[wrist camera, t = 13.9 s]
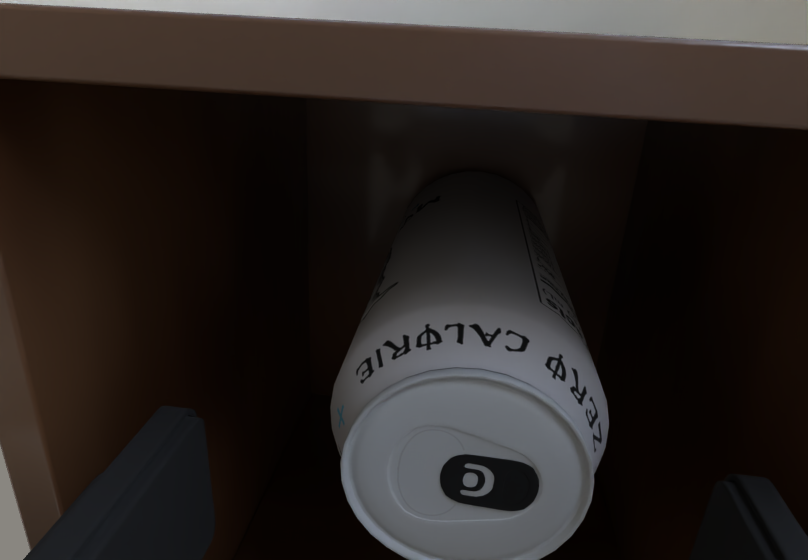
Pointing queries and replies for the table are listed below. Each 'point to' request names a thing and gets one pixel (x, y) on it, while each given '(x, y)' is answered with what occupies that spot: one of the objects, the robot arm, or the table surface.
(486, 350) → the energy drink can
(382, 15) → the table surface
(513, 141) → the chest
